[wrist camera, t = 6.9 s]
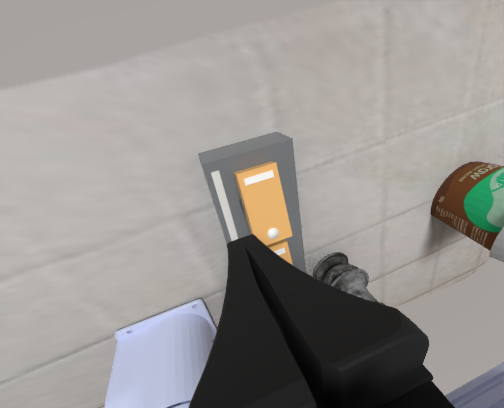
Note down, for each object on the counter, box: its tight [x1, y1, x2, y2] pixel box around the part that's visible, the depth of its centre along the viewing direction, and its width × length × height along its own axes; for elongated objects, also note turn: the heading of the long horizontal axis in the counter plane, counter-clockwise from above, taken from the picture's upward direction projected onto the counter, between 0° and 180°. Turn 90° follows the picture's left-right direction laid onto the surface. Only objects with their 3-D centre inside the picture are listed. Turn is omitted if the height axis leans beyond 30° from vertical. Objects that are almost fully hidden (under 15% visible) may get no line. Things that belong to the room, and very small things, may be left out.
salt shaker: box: [313, 252, 385, 305], centre depth 25 cm, size 6×6×12 cm
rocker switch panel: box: [198, 132, 306, 273], centre depth 23 cm, size 7×22×4 cm, turn 11°
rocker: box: [234, 161, 293, 246], centre depth 18 cm, size 3×6×1 cm, turn 11°
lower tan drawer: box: [267, 239, 293, 265], centre depth 21 cm, size 3×6×1 cm, turn 11°
